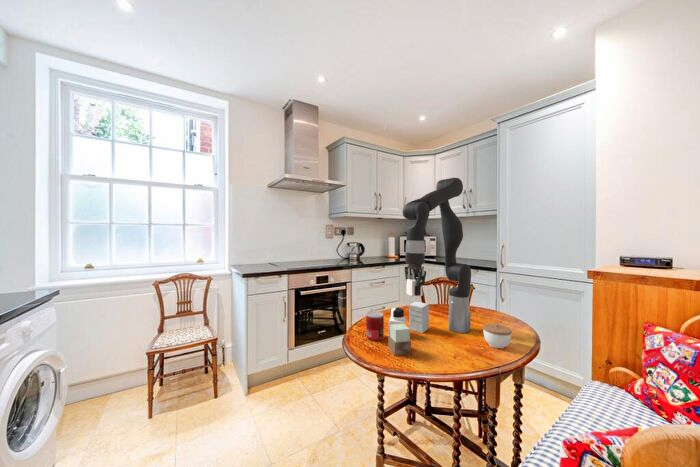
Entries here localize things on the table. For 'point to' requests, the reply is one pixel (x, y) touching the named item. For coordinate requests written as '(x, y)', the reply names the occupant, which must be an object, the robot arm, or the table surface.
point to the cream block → (412, 287)
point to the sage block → (399, 332)
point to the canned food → (375, 325)
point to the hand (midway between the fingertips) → (414, 293)
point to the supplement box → (419, 316)
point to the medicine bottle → (397, 317)
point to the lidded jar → (497, 335)
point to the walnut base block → (399, 347)
